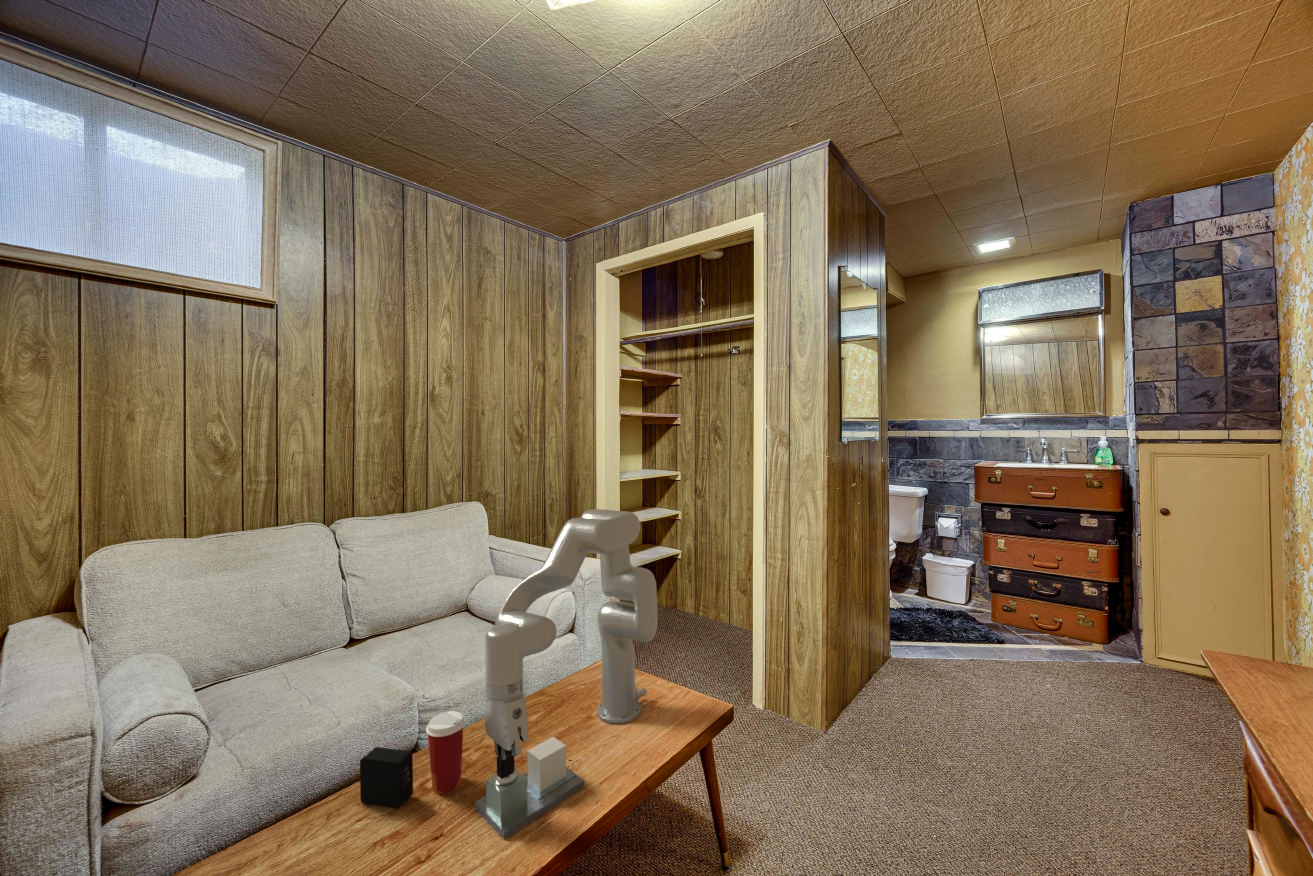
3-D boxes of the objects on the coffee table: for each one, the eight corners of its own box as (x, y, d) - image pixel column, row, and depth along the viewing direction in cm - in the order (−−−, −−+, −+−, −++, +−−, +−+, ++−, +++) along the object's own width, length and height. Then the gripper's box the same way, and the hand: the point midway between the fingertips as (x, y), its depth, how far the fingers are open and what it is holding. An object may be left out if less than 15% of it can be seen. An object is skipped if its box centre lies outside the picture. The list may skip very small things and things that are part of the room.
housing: (553, 766, 118) (553, 736, 118) (566, 775, 115) (565, 745, 115) (527, 781, 113) (527, 750, 113) (540, 791, 110) (539, 760, 110)
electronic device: (400, 810, 107) (399, 763, 107) (360, 803, 109) (359, 758, 109) (413, 796, 111) (412, 751, 111) (374, 790, 113) (373, 746, 113)
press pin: (510, 791, 108) (510, 763, 108) (521, 801, 105) (521, 772, 105) (491, 802, 105) (491, 773, 105) (502, 813, 102) (502, 783, 102)
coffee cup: (473, 776, 117) (472, 713, 117) (448, 801, 109) (447, 733, 109) (444, 769, 120) (443, 707, 120) (418, 792, 112) (417, 726, 112)
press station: (553, 763, 122) (553, 730, 122) (584, 786, 113) (583, 751, 113) (475, 808, 107) (474, 771, 107) (504, 839, 99) (503, 799, 99)
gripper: (540, 692, 102) (541, 781, 102) (502, 669, 112) (503, 750, 113) (506, 706, 97) (508, 801, 97) (470, 681, 107) (471, 766, 107)
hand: (505, 773), depth 105 cm, fingers closed
